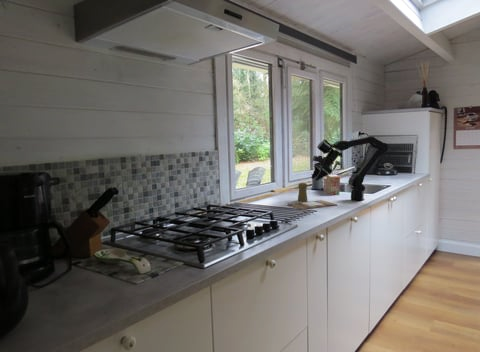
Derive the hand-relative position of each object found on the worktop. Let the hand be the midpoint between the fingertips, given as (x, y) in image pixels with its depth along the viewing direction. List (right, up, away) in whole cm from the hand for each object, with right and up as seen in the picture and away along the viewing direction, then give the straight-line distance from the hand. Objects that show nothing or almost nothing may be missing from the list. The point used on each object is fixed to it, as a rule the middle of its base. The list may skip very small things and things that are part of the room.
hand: (313, 179), depth 221 cm
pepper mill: (-7, -13, +1) cm, 15 cm away
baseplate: (-3, -15, -12) cm, 19 cm away
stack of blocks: (+18, -10, +33) cm, 39 cm away
